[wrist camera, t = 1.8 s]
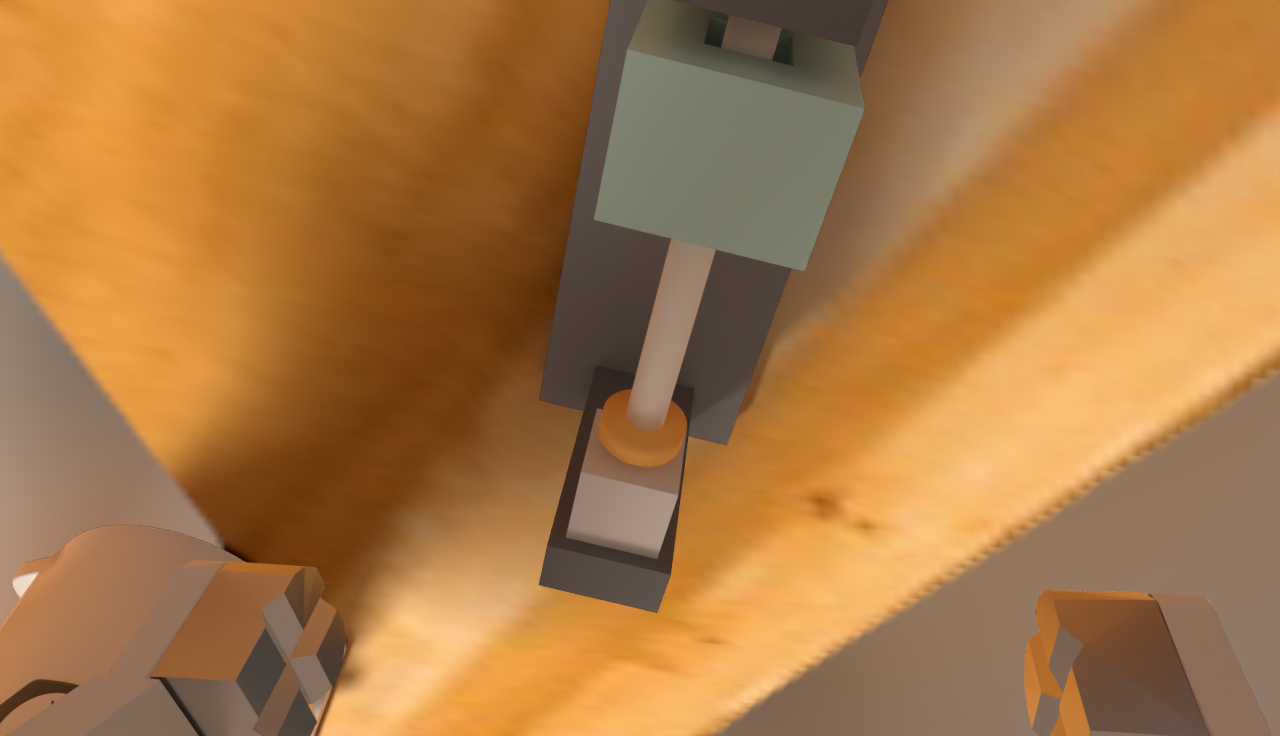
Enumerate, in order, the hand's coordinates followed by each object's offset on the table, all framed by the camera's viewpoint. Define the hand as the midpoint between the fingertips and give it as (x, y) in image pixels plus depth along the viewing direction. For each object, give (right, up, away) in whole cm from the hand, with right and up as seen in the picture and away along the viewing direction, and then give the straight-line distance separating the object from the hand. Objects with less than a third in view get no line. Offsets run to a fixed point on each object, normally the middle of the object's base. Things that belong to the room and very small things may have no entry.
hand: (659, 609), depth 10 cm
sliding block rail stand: (+2, +10, +22) cm, 24 cm away
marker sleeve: (+2, +10, +13) cm, 17 cm away
